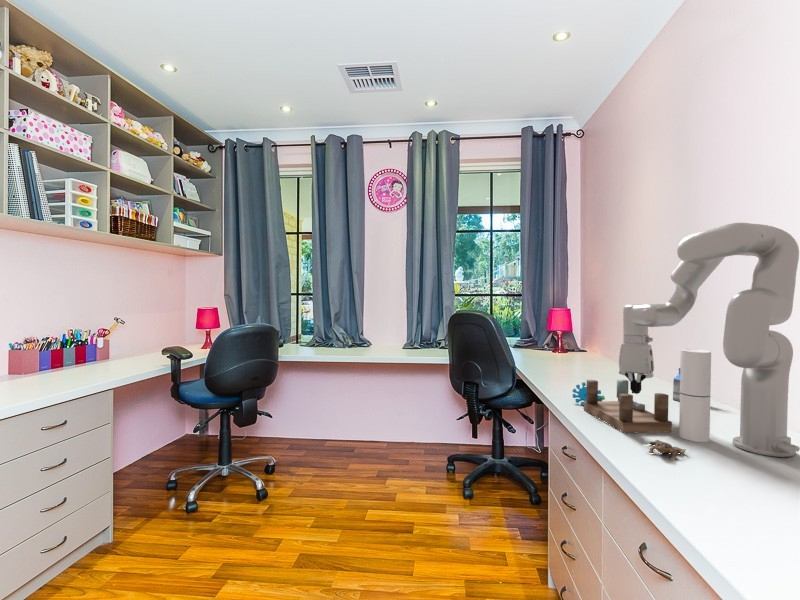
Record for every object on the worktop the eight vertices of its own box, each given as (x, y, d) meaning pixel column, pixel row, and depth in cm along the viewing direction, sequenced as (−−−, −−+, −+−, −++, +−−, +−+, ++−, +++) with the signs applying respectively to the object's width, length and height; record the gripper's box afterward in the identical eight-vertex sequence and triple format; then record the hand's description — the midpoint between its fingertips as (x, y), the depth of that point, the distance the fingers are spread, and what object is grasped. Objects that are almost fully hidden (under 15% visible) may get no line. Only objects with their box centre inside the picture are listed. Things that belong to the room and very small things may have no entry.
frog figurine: (690, 468, 101) (690, 452, 101) (634, 455, 109) (634, 440, 109) (696, 454, 110) (696, 439, 110) (643, 443, 118) (644, 429, 118)
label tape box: (672, 400, 164) (672, 368, 163) (678, 398, 165) (678, 367, 165) (697, 405, 156) (697, 372, 155) (703, 404, 158) (703, 371, 157)
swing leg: (648, 411, 137) (648, 388, 136) (637, 411, 136) (638, 388, 136) (624, 400, 150) (624, 379, 150) (614, 400, 149) (614, 379, 149)
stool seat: (671, 432, 126) (672, 396, 126) (623, 432, 125) (623, 396, 125) (624, 409, 150) (625, 379, 150) (583, 410, 149) (583, 379, 149)
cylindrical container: (680, 439, 120) (682, 351, 119) (677, 432, 126) (679, 348, 125) (711, 443, 116) (713, 353, 116) (707, 435, 123) (708, 350, 122)
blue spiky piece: (568, 399, 157) (577, 378, 162) (570, 408, 161) (578, 386, 166) (599, 408, 150) (608, 386, 155) (600, 417, 154) (609, 395, 159)
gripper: (663, 340, 144) (663, 394, 144) (617, 338, 155) (617, 388, 155) (656, 342, 139) (656, 398, 139) (608, 339, 150) (609, 391, 150)
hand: (635, 392), depth 147 cm, fingers closed
